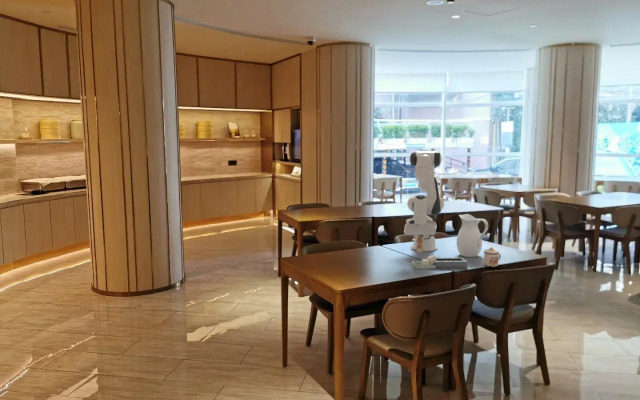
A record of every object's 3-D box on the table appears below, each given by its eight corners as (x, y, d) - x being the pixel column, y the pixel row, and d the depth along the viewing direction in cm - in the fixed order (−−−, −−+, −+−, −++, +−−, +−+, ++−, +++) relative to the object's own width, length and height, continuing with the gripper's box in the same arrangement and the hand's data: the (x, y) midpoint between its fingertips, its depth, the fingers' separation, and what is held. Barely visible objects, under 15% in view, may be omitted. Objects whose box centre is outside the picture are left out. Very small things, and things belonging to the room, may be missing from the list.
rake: (416, 250, 331) (416, 236, 329) (420, 250, 331) (421, 236, 329) (417, 251, 326) (418, 237, 325) (422, 251, 326) (422, 237, 325)
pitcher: (450, 254, 352) (452, 214, 348) (469, 251, 360) (470, 213, 356) (475, 261, 331) (477, 220, 327) (494, 258, 339) (496, 218, 335)
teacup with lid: (490, 267, 317) (490, 249, 316) (480, 264, 326) (481, 246, 324) (505, 265, 322) (505, 247, 320) (495, 262, 330) (495, 244, 329)
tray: (411, 264, 325) (411, 261, 324) (431, 264, 325) (431, 260, 325) (414, 269, 315) (414, 265, 314) (435, 268, 315) (435, 264, 315)
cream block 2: (430, 262, 321) (427, 257, 321) (435, 259, 321) (432, 254, 321) (431, 264, 318) (428, 259, 317) (437, 261, 317) (434, 256, 317)
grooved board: (431, 264, 325) (431, 257, 325) (462, 264, 326) (462, 257, 325) (435, 268, 315) (435, 261, 314) (467, 268, 315) (467, 261, 315)
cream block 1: (427, 265, 322) (421, 265, 322) (428, 259, 321) (421, 259, 321) (429, 266, 318) (423, 266, 318) (429, 260, 317) (423, 260, 317)
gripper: (434, 219, 329) (434, 240, 331) (403, 219, 329) (403, 240, 331) (437, 221, 323) (436, 242, 325) (405, 221, 323) (405, 242, 324)
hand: (419, 241), depth 328 cm, fingers closed on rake, 2 cm apart
